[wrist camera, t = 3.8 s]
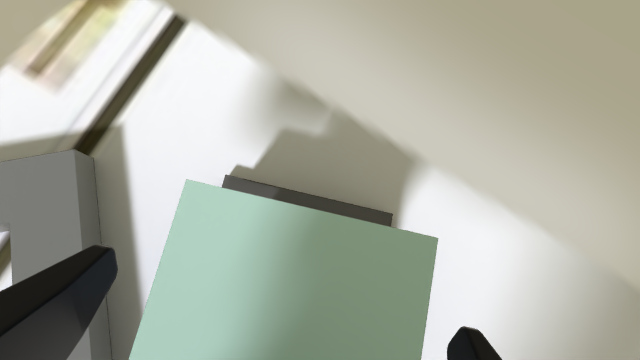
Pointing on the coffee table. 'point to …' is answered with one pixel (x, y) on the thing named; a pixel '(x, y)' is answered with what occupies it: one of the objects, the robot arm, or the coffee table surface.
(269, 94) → the coffee table surface
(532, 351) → the coffee table surface
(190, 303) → the plug
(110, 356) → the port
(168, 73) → the coffee table surface
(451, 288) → the coffee table surface
